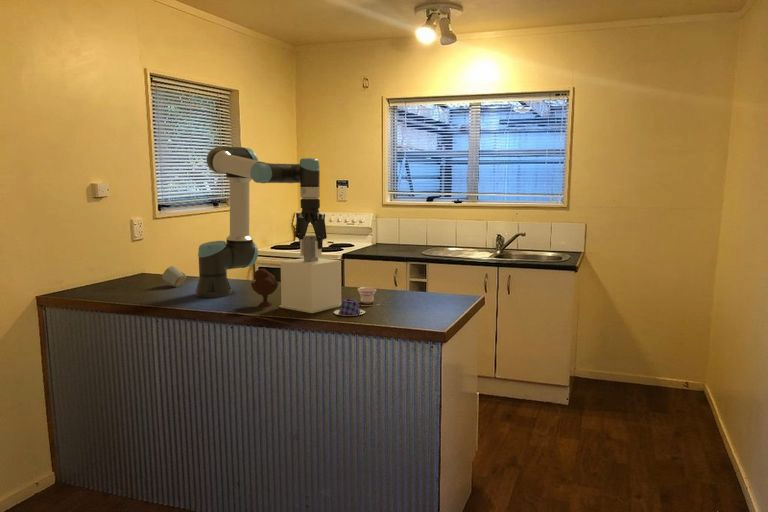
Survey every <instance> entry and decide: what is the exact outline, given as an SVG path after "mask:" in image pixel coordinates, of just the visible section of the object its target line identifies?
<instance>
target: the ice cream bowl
mask: <svg viewBox="0 0 768 512" xmlns="http://www.w3.org/2000/svg"><path fill="white" fill-rule="evenodd" d="M253 279H254V281H253V280H252V281H251V282H250V285H251V288H252V291H254V292H255V293H256V294H258V295H259V296H262V301H261V302H260V303H258V307H262V308H263V307H264V308H267V307H273V303H271V302H270V301H268V297H269V296H270V295H272V294H273V293H275V291H276V290H277V288H278V286H279V281H278V280H276V276H275V275H274V274H272V273H271V272H270V271H268V270H267V269H266V268H259V269H257V270H256V271H255V272H254V274H253Z"/></svg>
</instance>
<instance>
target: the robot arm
mask: <svg viewBox="0 0 768 512" xmlns="http://www.w3.org/2000/svg"><path fill="white" fill-rule="evenodd" d="M206 164H207V167H208V168H209V170H210V171H212V172H214V173H216V174H221V175H223V174H224V175H225V178H226V179H227V180H228V181H229V235H228V236H227V237H226V239H225V240H226V241H225V240H213V241H207V242H204V243H201V244H200V245H199V246H198V254H197V256H198V277H199V279H198V282H197V285H196V289H195V296H196V297H198V298H203V299H204V298H205V299H207V298H209V299H210V298H211V299H212V298H213V299H214V298H225V297H227V296H230V295H232V287H231V284H230V281H229V280H228V276H227V275H228V274H227V273H228V272H227V271H228V270H233V269H235V270H236V269H245V268H249V267H252V266H254V265H255V263H256V262H257V260H258V256H259V249H258V248H259V247H258V245H257V244H256V243H255V242H254V241H253V240H254V239H253V237H252V236H251V235H250V183H251V180H253V182H254V183H258V184H300V185H299V187H300V189H299V190H300V193H299V194H300V196H299V197H300V198H301V199H300V201H299V202H300V208H301V212H296V213H295V217H296V222H295V232H294V237H295V238H297V239H298V245H299V248H300V250H299V254H300V257H304V242H303V236H307V235H306V234H307V231H308V227H309V225H310V224H311V226H312V227H313V231H314V235H315V236H316V238H317V239H316V241H315V257H316V258H317V257H318V258H322V257H323V256H322V255H323V252H322V251H323V250H322V249H323V240H326V239H327V237H328V236H327V228H326V227H327V226H326V221H325V220H326V219H325V218H326V213H321V212H320V210H319V209H320V208H321V202H320V197H321V192H320V191H321V189H320V172H321V171H320V170H321V169H320V160H319V159H318V158H311V157H309V158H308V157H307V158H304V157H303V158H301V159H299V163H269V162H265V161H260V160H259V159H258V156H257V154H256V152H255V151H254V150H253V149H252V148H249V147H243V146H240V147H239V146H223V145H222V146H216V147H214V148H212V149H210V150H209V151H208V154H207V156H206Z"/></svg>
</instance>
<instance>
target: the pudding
mask: <svg viewBox="0 0 768 512" xmlns="http://www.w3.org/2000/svg"><path fill="white" fill-rule="evenodd" d="M339 307H340V309H336V310H334V311H333V314H335V315H338V316H343V317H344V316H345V317H353V316H354V317H355V316H360V315H364V314H365V313H366V311H365V310H363V309H361V308H360V304H359V301H357V299H354V298H353V299H352V298H347V299H346V298H345V299H343V300H341V306H339ZM361 312H362V313H361ZM358 314H359V315H358Z"/></svg>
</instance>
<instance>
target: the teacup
mask: <svg viewBox="0 0 768 512" xmlns="http://www.w3.org/2000/svg"><path fill="white" fill-rule="evenodd" d="M357 292H358V293H359V295H360V302H361V303H363V304H365V305H362V304H360V305H361V306H360V307H362V306H363V307H365V306H366V307H369V306H370V307H372V306H374V305H373V304H372V303H373V302H374V300H375V299H374V297H375V295H376V292H377V288H375V287H371V286H370V287H369V286H367V287H366V286H365V287H358V288H357ZM367 304H369V305H367ZM378 305H380V303H378V304H377V306H378Z"/></svg>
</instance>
